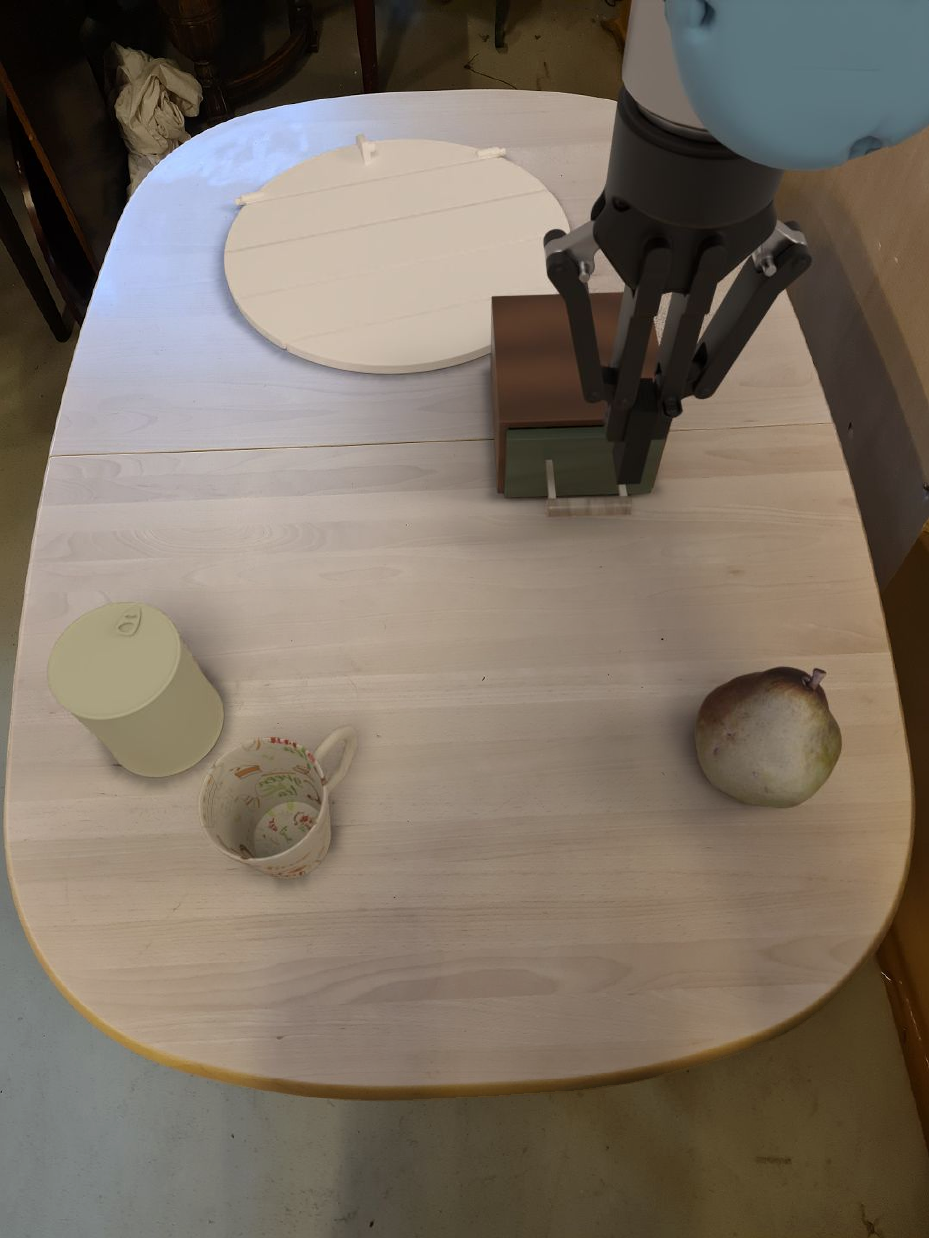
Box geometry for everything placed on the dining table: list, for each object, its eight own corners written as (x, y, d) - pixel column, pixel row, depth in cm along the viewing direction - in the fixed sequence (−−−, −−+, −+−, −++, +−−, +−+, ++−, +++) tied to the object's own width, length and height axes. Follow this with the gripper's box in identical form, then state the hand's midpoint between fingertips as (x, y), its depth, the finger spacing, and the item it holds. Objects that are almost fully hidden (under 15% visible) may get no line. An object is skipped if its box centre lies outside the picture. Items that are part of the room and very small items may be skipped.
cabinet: (653, 488, 80) (673, 416, 72) (497, 493, 80) (499, 422, 72) (632, 368, 88) (648, 291, 79) (490, 373, 88) (491, 295, 79)
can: (238, 680, 71) (197, 607, 60) (202, 786, 66) (151, 726, 56) (133, 664, 72) (74, 588, 61) (90, 767, 67) (19, 705, 57)
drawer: (659, 545, 76) (676, 489, 69) (507, 549, 76) (510, 495, 69) (630, 378, 86) (643, 316, 79) (497, 382, 86) (498, 320, 79)
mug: (212, 852, 64) (170, 812, 55) (319, 723, 69) (296, 668, 60) (297, 919, 61) (267, 887, 53) (402, 780, 66) (391, 730, 58)
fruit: (824, 731, 68) (887, 663, 57) (806, 843, 63) (870, 791, 53) (696, 692, 70) (734, 619, 59) (670, 798, 65) (706, 739, 55)
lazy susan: (204, 177, 105) (196, 150, 102) (508, 121, 110) (509, 93, 107) (256, 409, 86) (248, 384, 83) (622, 329, 91) (627, 302, 88)
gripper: (849, 37, 37) (716, 421, 57) (545, 46, 37) (521, 427, 57) (898, 140, 33) (737, 511, 53) (559, 151, 33) (529, 518, 53)
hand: (626, 467), depth 55 cm, fingers closed
